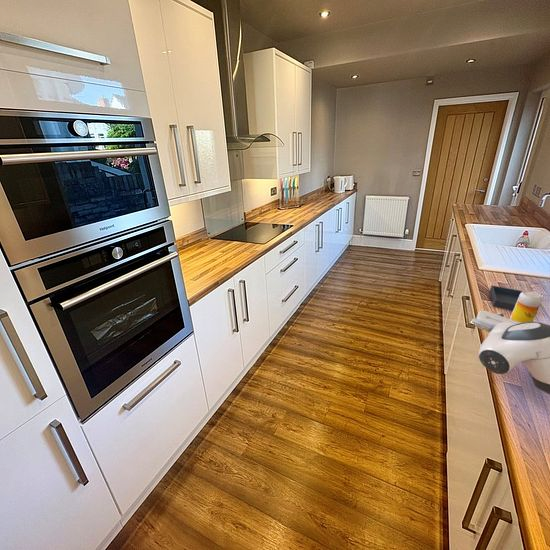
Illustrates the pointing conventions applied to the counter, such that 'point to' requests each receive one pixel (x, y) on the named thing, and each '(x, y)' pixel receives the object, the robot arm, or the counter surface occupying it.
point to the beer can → (526, 307)
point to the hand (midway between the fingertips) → (518, 320)
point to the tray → (504, 297)
